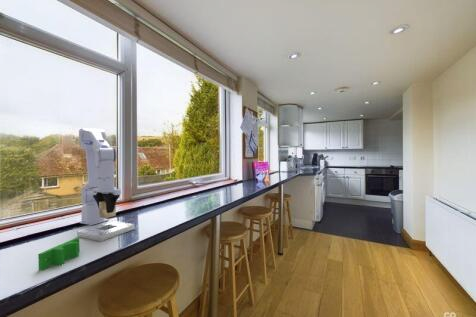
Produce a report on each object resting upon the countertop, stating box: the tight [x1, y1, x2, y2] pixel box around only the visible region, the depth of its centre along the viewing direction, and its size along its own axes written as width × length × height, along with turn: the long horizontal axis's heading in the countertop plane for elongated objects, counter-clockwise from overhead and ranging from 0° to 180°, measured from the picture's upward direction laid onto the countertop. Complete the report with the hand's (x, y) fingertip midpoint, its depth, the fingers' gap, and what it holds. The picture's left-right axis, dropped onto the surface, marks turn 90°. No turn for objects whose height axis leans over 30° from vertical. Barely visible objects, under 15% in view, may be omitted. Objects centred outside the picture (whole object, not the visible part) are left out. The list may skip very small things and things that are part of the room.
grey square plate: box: [76, 220, 135, 243], centre depth 82 cm, size 14×14×2 cm
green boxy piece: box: [37, 237, 80, 271], centre depth 60 cm, size 11×4×5 cm, turn 173°
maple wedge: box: [99, 201, 117, 219], centre depth 83 cm, size 4×4×6 cm
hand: (106, 212), depth 82 cm, fingers closed on maple wedge, 4 cm apart
